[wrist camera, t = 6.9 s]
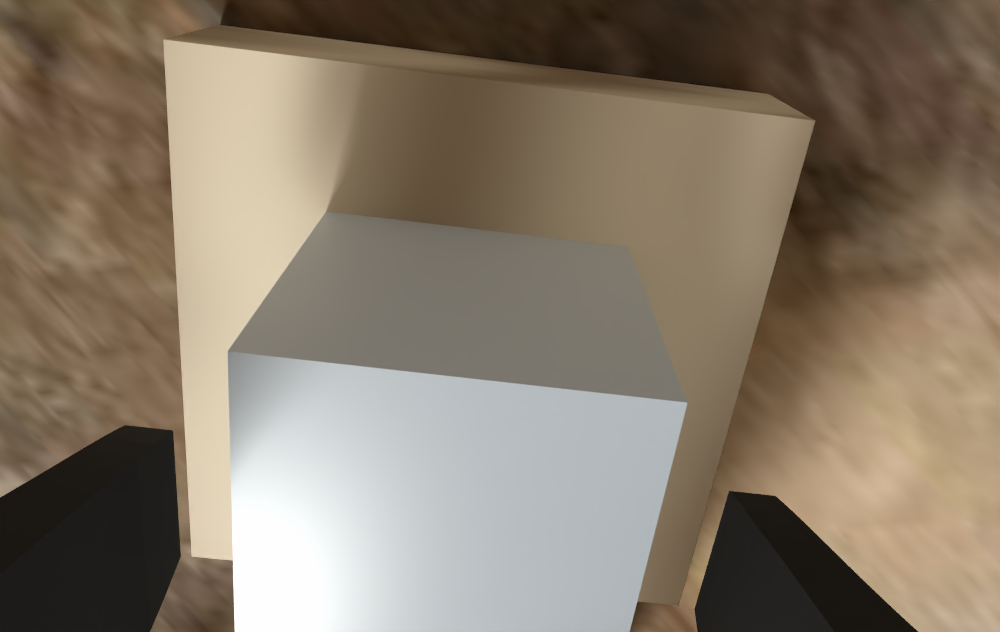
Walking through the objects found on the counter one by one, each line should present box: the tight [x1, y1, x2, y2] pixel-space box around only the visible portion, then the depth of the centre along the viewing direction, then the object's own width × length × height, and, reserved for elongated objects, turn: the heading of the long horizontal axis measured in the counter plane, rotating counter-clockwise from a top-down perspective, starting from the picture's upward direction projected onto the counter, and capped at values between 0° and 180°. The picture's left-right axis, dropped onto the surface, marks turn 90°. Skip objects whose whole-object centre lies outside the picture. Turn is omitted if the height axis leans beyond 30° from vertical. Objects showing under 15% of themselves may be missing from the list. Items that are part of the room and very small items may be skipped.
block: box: [228, 211, 688, 632], centre depth 12 cm, size 5×5×5 cm
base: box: [163, 25, 815, 606], centre depth 15 cm, size 10×10×2 cm
